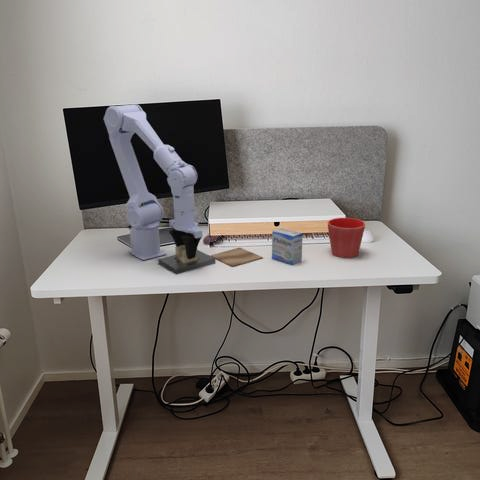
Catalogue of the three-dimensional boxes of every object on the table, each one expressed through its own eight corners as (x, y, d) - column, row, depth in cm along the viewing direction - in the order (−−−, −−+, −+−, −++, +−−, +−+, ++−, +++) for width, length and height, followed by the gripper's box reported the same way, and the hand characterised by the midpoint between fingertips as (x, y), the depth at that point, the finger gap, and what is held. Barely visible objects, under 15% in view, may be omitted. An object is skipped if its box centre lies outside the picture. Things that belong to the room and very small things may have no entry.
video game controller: (213, 249, 162) (223, 231, 159) (201, 242, 162) (210, 224, 159) (220, 239, 171) (229, 222, 168) (208, 233, 171) (217, 216, 168)
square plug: (176, 263, 146) (175, 247, 145) (189, 259, 149) (188, 243, 147) (184, 267, 143) (183, 251, 141) (197, 264, 145) (197, 247, 144)
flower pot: (340, 262, 145) (342, 229, 142) (319, 250, 155) (320, 220, 151) (370, 256, 149) (373, 224, 146) (348, 245, 159) (350, 215, 156)
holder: (158, 264, 146) (158, 259, 145) (196, 254, 153) (196, 249, 153) (176, 274, 138) (176, 269, 138) (215, 263, 146) (215, 258, 145)
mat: (210, 256, 151) (210, 255, 151) (239, 248, 157) (239, 247, 157) (232, 267, 143) (232, 265, 143) (262, 258, 149) (262, 257, 149)
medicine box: (271, 259, 148) (271, 230, 146) (280, 255, 152) (281, 227, 149) (292, 265, 143) (293, 236, 141) (302, 261, 146) (303, 232, 144)
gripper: (210, 212, 138) (212, 259, 142) (183, 202, 148) (185, 246, 153) (188, 217, 133) (191, 265, 138) (161, 206, 144) (164, 251, 149)
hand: (186, 255), depth 145 cm, fingers closed on square plug, 4 cm apart
